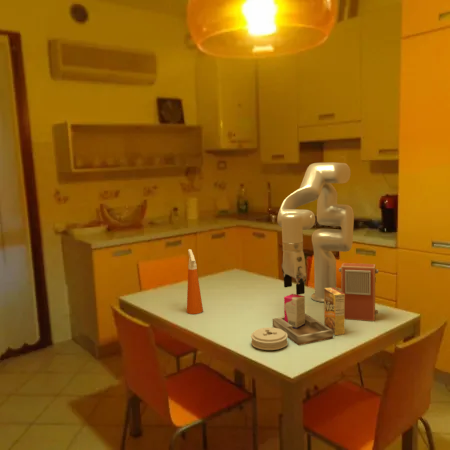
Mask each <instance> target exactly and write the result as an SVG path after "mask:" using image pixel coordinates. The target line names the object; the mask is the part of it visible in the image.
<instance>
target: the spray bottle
mask: <svg viewBox="0 0 450 450" xmlns="http://www.w3.org/2000/svg"><path fill="white" fill-rule="evenodd" d="M187 251H188V252H187V254H188V258H189V259H188V264H187V268H188V270H187V295H186V296H187V297H186V313H187V314H189V315H198V314H202V313H203V312H204V308H203V301H202V295H201V287H200V282H199V281H200V280H199V275H198V268H197V263H196V259H195V255H194V252H193V250H192V249H190V248H189V249H188V250H187Z"/></svg>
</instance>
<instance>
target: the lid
mask: <svg viewBox="0 0 450 450" xmlns="http://www.w3.org/2000/svg"><path fill="white" fill-rule="evenodd" d="M250 337H251V342H250V343H251V345H252V346H253V347H254V348H256V349H258V350H262V351H264V350H265V351H273V350H279V349H283V348H285V347H286V346H288V343H289V342H288V335H287V333H286V332H284V331H283V330H281V329H278V328H274V327H270V326H269V327H261V328H258V329H255V330H254V331H253V332H252V333H251V334H250Z"/></svg>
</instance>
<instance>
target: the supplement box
mask: <svg viewBox="0 0 450 450" xmlns="http://www.w3.org/2000/svg"><path fill="white" fill-rule="evenodd" d="M305 300H306V299H305V295H302V294H300V295H297V294H296V293H291V294H289V295H286V296H284V297H283V302H284V303H283V304H284V305H283V307H284V315H283V317H285V321H286V322H287V323H289V324H290V325H292V328H294V329H298V328H300V327H302V326H304V325H305V314H306V312H305V311H306V305H305V304H306V301H305Z"/></svg>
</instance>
